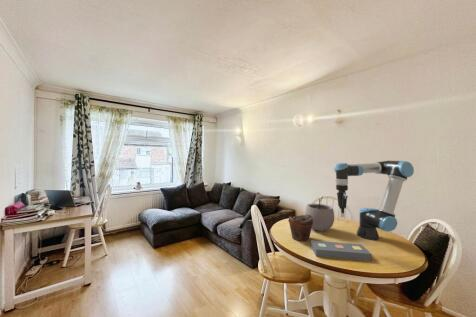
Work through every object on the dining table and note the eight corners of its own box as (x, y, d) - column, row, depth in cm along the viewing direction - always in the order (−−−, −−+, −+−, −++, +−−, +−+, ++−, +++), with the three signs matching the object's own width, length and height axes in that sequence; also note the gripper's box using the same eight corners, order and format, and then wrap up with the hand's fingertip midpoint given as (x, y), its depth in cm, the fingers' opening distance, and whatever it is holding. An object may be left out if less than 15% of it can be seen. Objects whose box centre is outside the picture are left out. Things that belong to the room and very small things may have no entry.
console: (360, 250, 139) (361, 244, 139) (371, 261, 125) (371, 253, 125) (311, 246, 144) (311, 240, 144) (315, 256, 130) (316, 249, 130)
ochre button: (359, 251, 135) (359, 246, 135) (362, 255, 130) (362, 249, 130) (351, 251, 136) (351, 245, 136) (354, 254, 131) (354, 249, 131)
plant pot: (304, 232, 171) (305, 197, 170) (304, 223, 193) (305, 192, 193) (335, 236, 163) (336, 199, 163) (332, 227, 186) (333, 194, 186)
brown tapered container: (283, 238, 158) (283, 215, 157) (296, 231, 172) (296, 210, 171) (304, 245, 145) (305, 220, 145) (316, 238, 159) (317, 215, 159)
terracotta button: (341, 250, 136) (341, 245, 136) (344, 253, 132) (344, 248, 132) (334, 249, 137) (334, 244, 137) (336, 253, 132) (336, 247, 132)
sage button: (324, 248, 138) (324, 243, 138) (326, 252, 133) (326, 246, 133) (317, 248, 139) (317, 243, 139) (319, 251, 134) (319, 246, 134)
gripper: (333, 183, 152) (333, 214, 153) (340, 185, 139) (340, 219, 140) (343, 183, 152) (343, 214, 152) (351, 185, 139) (351, 220, 139)
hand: (342, 217), depth 146 cm, fingers closed
